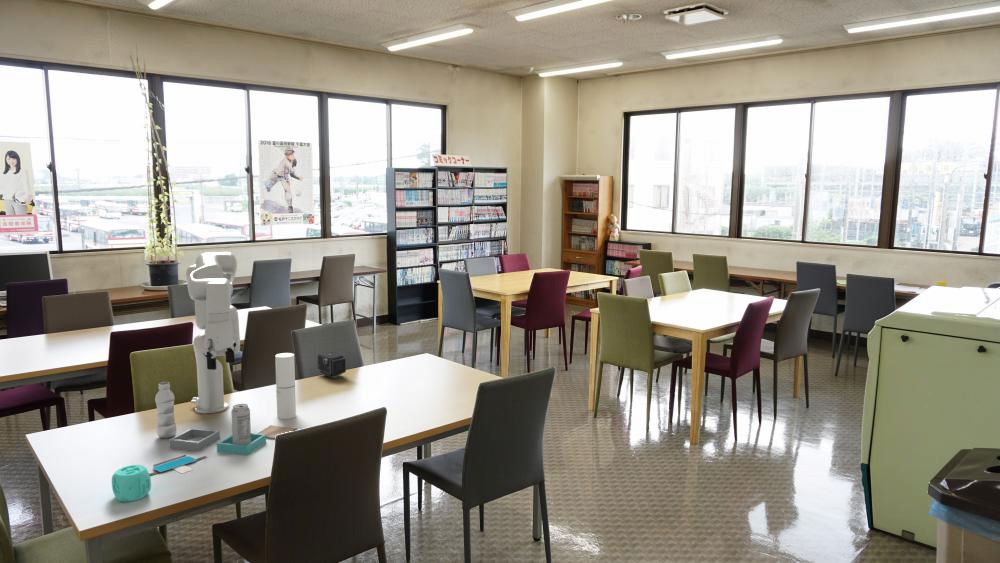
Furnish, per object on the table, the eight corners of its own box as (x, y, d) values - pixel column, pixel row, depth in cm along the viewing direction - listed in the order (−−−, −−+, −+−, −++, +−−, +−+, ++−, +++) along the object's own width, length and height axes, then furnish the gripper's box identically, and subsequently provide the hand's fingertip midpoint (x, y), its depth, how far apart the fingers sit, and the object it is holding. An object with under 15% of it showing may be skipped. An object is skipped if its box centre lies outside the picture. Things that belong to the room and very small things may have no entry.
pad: (253, 437, 243) (253, 435, 243) (270, 426, 253) (270, 425, 253) (281, 439, 240) (281, 438, 240) (296, 429, 251) (296, 427, 251)
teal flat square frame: (217, 451, 229) (216, 443, 229) (237, 439, 240) (237, 431, 240) (247, 455, 226) (246, 446, 226) (266, 442, 238) (265, 434, 237)
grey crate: (169, 447, 232) (169, 439, 231) (191, 436, 243) (191, 428, 243) (198, 451, 229) (198, 442, 229) (219, 439, 241) (219, 431, 240)
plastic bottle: (157, 441, 238) (154, 387, 235) (157, 435, 244) (153, 382, 241) (177, 438, 241) (174, 384, 238) (176, 432, 247) (173, 380, 244)
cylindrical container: (290, 419, 261) (288, 357, 258) (273, 418, 263) (271, 356, 260) (299, 413, 268) (297, 353, 265) (283, 412, 270) (281, 352, 266)
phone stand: (155, 484, 205) (155, 479, 204) (137, 473, 212) (137, 468, 212) (216, 463, 220) (216, 458, 220) (198, 454, 228) (197, 450, 227)
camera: (315, 377, 324) (331, 381, 313) (313, 354, 323) (329, 357, 312) (334, 373, 331) (350, 376, 321) (332, 351, 331) (349, 353, 320)
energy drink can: (246, 442, 238) (245, 402, 236) (254, 447, 233) (252, 406, 231) (230, 447, 233) (228, 405, 231) (237, 451, 229) (235, 409, 227)
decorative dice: (122, 505, 190) (120, 478, 189) (112, 496, 195) (110, 470, 194) (151, 495, 196) (150, 469, 195) (141, 487, 201) (139, 462, 200)
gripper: (225, 312, 237) (227, 359, 239) (192, 321, 221) (194, 371, 223) (244, 313, 235) (246, 360, 238) (211, 322, 219) (214, 373, 221)
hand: (221, 365), depth 230 cm, fingers open, 9 cm apart
